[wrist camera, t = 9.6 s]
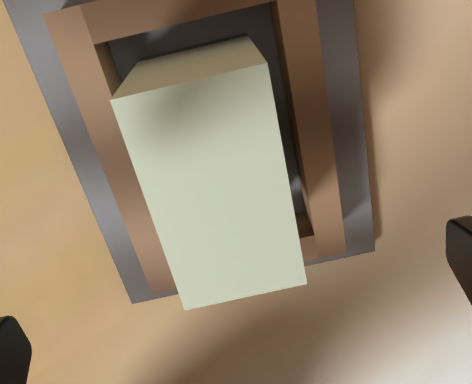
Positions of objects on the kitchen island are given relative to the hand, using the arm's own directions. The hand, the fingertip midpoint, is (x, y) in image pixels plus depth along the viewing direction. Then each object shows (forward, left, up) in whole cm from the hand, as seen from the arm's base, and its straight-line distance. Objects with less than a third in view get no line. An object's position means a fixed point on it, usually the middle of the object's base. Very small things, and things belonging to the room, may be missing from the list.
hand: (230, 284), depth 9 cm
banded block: (0, 0, -10) cm, 10 cm away
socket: (0, 0, -10) cm, 10 cm away
